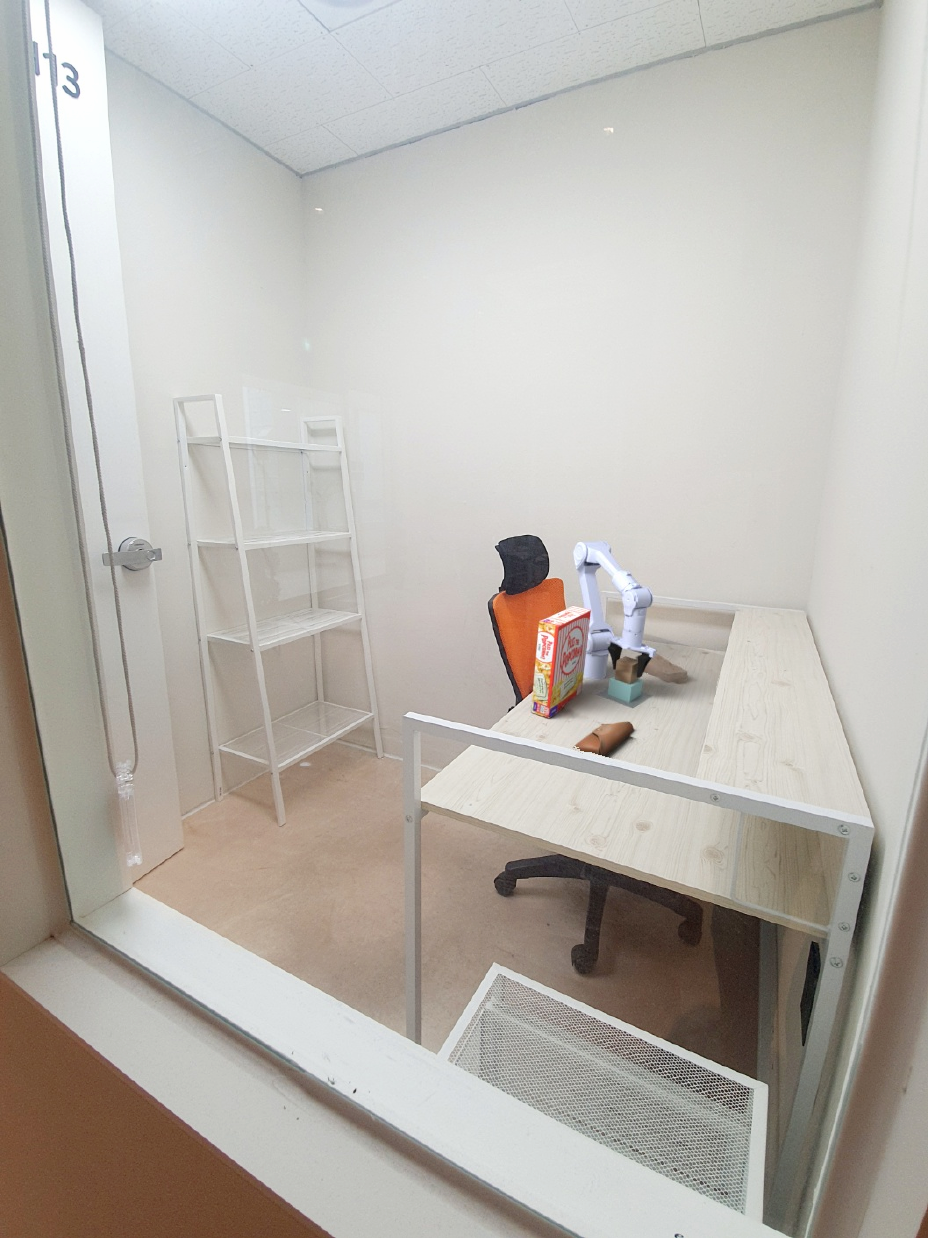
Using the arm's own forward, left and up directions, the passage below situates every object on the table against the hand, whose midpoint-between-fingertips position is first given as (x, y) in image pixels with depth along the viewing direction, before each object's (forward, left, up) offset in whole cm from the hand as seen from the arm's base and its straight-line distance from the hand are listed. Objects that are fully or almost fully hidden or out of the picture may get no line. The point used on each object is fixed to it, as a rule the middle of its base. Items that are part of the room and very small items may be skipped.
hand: (627, 672), depth 157 cm
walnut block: (0, 0, -2) cm, 2 cm away
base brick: (0, 0, -7) cm, 7 cm away
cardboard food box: (-12, -18, -8) cm, 23 cm away
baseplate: (0, 0, -8) cm, 8 cm away
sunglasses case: (+9, -26, -9) cm, 29 cm away
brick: (-1, +25, -9) cm, 27 cm away
